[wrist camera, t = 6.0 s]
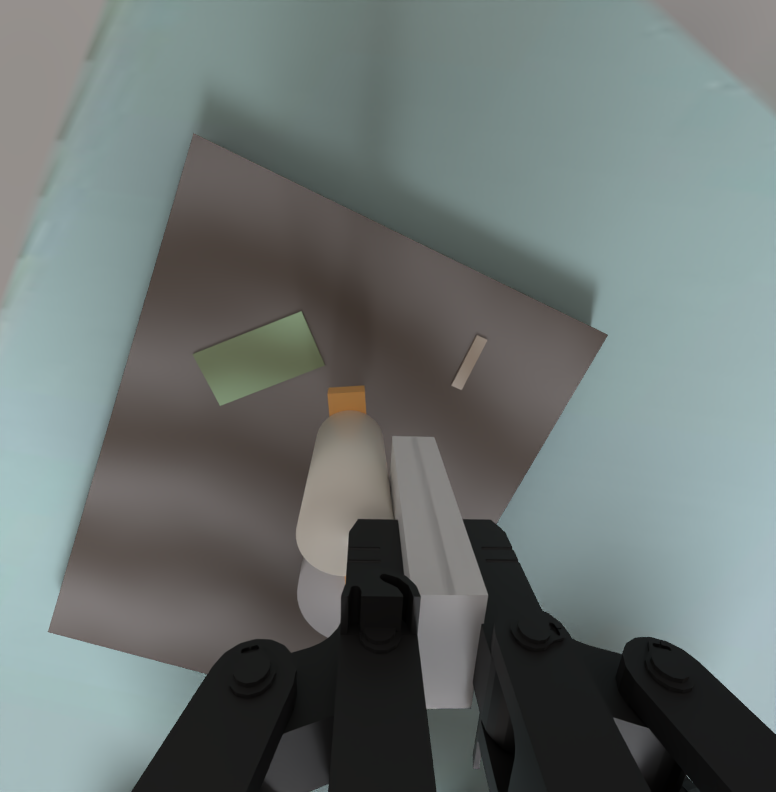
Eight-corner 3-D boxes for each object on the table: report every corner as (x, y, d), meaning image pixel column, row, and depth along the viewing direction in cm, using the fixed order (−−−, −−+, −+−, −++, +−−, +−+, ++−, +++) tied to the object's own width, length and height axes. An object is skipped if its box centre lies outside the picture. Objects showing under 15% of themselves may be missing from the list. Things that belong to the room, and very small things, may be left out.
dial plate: (379, 694, 27) (380, 721, 25) (66, 608, 23) (46, 633, 22) (590, 329, 21) (609, 335, 19) (207, 142, 17) (192, 132, 16)
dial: (424, 614, 23) (459, 803, 15) (307, 625, 23) (281, 822, 15) (417, 372, 19) (460, 457, 11) (275, 380, 19) (216, 474, 11)
